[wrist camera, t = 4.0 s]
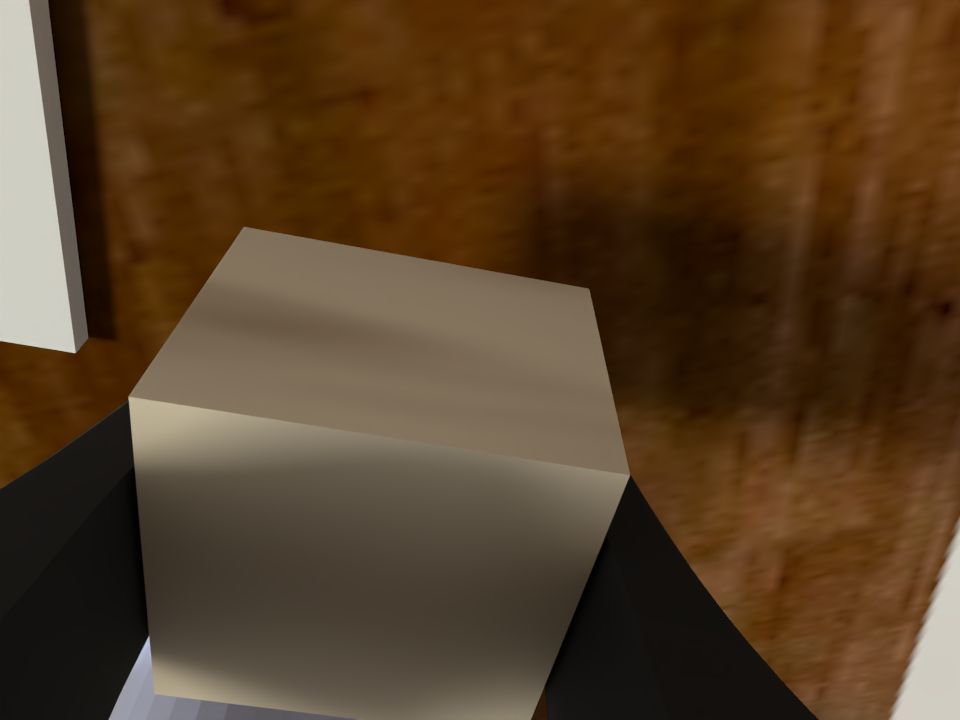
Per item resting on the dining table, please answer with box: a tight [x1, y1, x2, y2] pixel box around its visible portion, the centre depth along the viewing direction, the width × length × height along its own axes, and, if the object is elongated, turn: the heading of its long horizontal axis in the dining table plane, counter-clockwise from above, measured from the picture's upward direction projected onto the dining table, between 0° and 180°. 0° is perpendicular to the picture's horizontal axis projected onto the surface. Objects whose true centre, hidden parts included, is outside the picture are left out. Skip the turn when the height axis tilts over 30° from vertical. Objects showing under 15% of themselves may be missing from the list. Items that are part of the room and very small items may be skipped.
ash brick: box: [129, 227, 630, 720], centre depth 10 cm, size 5×5×4 cm
